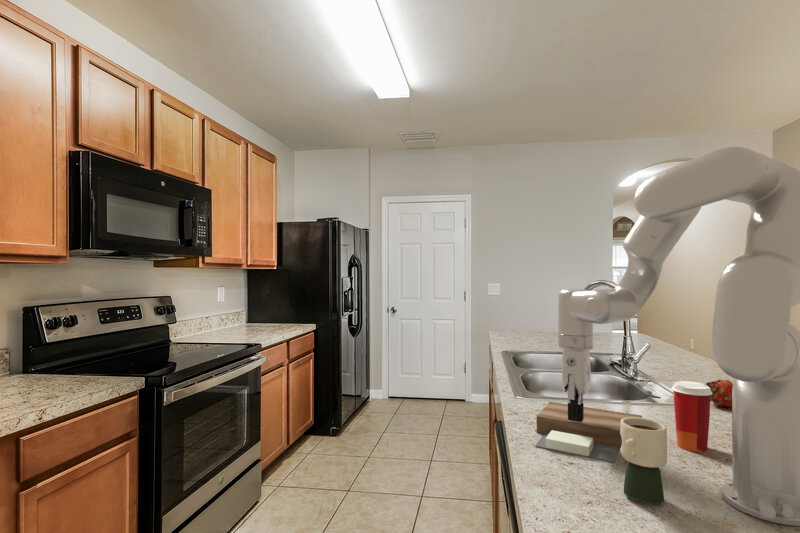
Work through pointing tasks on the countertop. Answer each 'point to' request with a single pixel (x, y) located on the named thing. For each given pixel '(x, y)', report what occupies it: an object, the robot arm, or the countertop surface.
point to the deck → (583, 423)
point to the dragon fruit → (721, 393)
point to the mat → (598, 451)
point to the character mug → (644, 458)
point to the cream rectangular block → (569, 443)
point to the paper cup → (692, 415)
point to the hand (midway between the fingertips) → (575, 419)
